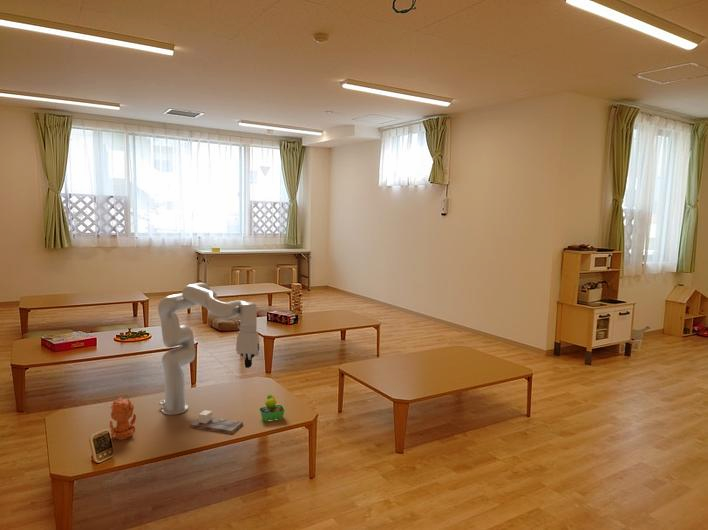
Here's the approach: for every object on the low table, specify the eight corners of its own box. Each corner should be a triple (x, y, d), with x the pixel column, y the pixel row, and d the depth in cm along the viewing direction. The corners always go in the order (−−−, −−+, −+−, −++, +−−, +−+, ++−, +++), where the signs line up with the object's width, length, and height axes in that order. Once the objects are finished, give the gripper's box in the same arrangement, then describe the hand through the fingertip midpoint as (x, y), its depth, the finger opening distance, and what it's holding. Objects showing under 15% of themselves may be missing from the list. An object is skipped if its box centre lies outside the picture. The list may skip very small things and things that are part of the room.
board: (190, 427, 222) (190, 423, 222) (202, 418, 232) (202, 415, 232) (232, 433, 217) (232, 430, 216) (242, 424, 226) (242, 421, 226)
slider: (198, 422, 224) (198, 414, 223) (204, 418, 229) (204, 410, 228) (206, 423, 223) (206, 415, 222) (212, 419, 228) (211, 411, 227)
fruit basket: (262, 423, 228) (262, 401, 227) (258, 416, 236) (258, 394, 235) (285, 420, 232) (285, 398, 231) (281, 413, 240) (281, 391, 239)
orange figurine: (129, 428, 220) (128, 391, 218) (140, 435, 213) (139, 397, 211) (104, 437, 211) (103, 398, 209) (115, 444, 204) (114, 404, 203)
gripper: (229, 329, 219) (229, 367, 220) (259, 332, 215) (259, 371, 217) (237, 325, 226) (237, 363, 228) (266, 328, 222) (266, 366, 224)
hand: (248, 367), depth 222 cm, fingers closed
